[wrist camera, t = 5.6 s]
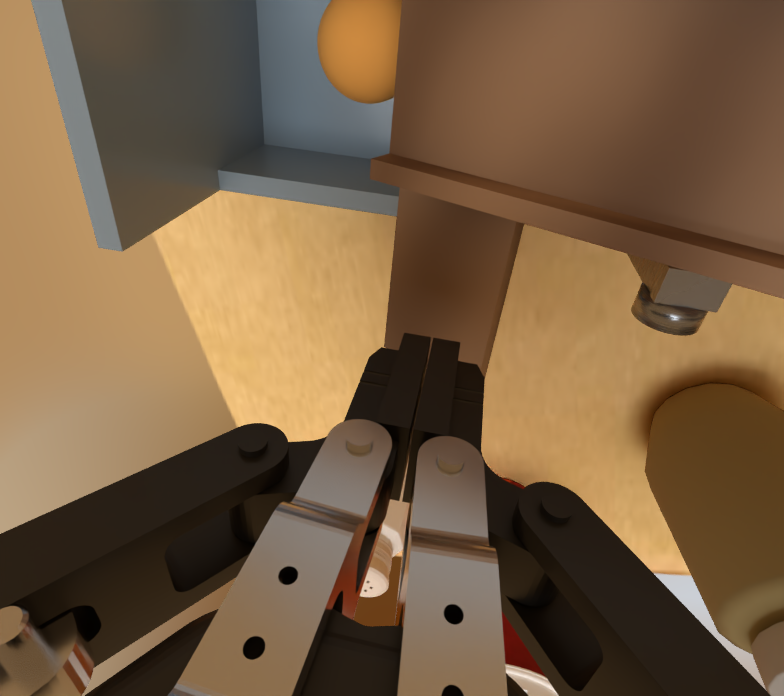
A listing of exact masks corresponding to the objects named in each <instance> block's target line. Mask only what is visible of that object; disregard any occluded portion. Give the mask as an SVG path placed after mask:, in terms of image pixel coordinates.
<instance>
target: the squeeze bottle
mask: <svg viewBox="0 0 784 696" xmlns="http://www.w3.org/2000/svg"><path fill="white" fill-rule="evenodd" d="M645 473H646V476H647V479H648V482H649V485H650V488H651V490H652V493H653V495H654V497H655V499H656V501H657V503H658V505H659V507H660V510H661V512H662V514H663V516H664V518H665V520H666V522H667V524H668V527H669V529H670V531H671V533H672V535H673V537H674V539H675V541H676V544H677V546H678V548H679V550H680V552H681V554H682V556H683V558H684V561H685V563H686V565H687V567H688V569H689V571H690V573H691V575H692V577H693V579H694V582H695V584H696V586H697V588H698V590H699V592H700V594H701V596H702V599H703V601H704V603H705V605H706V607H707V609H708V611H709V614H710V616H711V618H712V620H713V622H714V624H715V626H716V628H717V631H718V632H719V633H720V634H721V635H722V636H724V637H725V638H726V639H728V640H729V641H730V642H731V643H732V644H734V645H735V646H737V647H739V648H741V649H743V650H745V651H747V652H749V653H751V654H753V657H754V660H755V662H756V665H757V668H758V670H759V673H760V675H761V678H762V680H763V682H764V685H765V688H766V690H767V692H768V693H769V694H770V695H771V696H784V411H782V410H781V409H779V408H777V407H776V406H774V405H772V404H771V403H769V402H767V401H766V400H764V399H762V398H761V397H759V396H757V395H756V394H754V393H752V392H751V391H748V390H746V389H743V388H740V387H738V386H735V385H732V384H714V383H708V384H704V385H699V386H695V387H691V388H686V389H684V390H683V391H681V392H679V393H677V394H675V395H673V396H672V397H670V398H668V399H667V400H666V401H665V402H664V403H663V404H662V405H661V406H660V407H659V409H658V410H657V411H656V412H655V414H654V417H653V421H652V424H651V429H650V437H649V444H648V451H647V459H646V466H645Z"/></svg>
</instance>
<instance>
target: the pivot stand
mask: <svg viewBox="0 0 784 696" xmlns="http://www.w3.org/2000/svg"><path fill="white" fill-rule="evenodd" d="M628 256H629V258H630V260H631V262H632V263H633V265H634V267H635V269H636V271H637V273H638V274H639V276H640V278H641V280H642V284H641V287H640V289H639V291H638V294H637V296H636V298H635V301H634V303H633V305H632V308H631V311H632V314H633V315H634V316H635V317H636V318H637V319H638V320H639V321H640V322H642V323H643V324H645V325H647V326H649V327H651V328H653V329H655V330H658V331H661V332H664V333H668V334H673V335H692V334H694V333H696V332H697V331H698V329H699V328H700V326H701V324H702V322H703V320H704V318H705V316H706V315H707V313H708V311H711V312H717V311H718V309H719V307H720V306H721V304H722V302H723V300H724V298H725V296H726V295H727V293H728V291H729V289H730V287H731V285H732V284H731V283H728V282H724V281H721V280H717V279H714V278H710V277H707V276H703V275H700V274H697V273H693V272H690V271H686V270H683V269H679V268H676V267H672V266H669V265H665V264H662V263H659V262H655V261H652V260H648V259H645V258H641V257H638V256H634V255H631V254H628Z"/></svg>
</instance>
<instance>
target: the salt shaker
mask: <svg viewBox="0 0 784 696" xmlns="http://www.w3.org/2000/svg"><path fill="white" fill-rule="evenodd" d="M408 460H409V459H408ZM407 467H408V463H407ZM406 473H407V468H406ZM406 473H405V477H404V482H403V486H402V491H401V496H400V500H399V501H396V500H391V499H390V502H389V506H388V510H387V514H386V517H385V520H384V521H383V525H382V530H381V533H380V536H379V539H378V542H377V545H376V548H375V551H374V554H373V557H372V560H371V563H370V566H369V569H368V572H367V575H366V578H365V581H364V584H363V587H362V590H361V593H360V596H363V597H376V596H379V595H381V594H383V593H384V592H385V591H386V590H387V589H388V586H389V573H390V569H391V562H392V561H391V558H392V557H393V556H395V555H396V554H398V553H399V552H400V551H402V550H403V542H404V534H405V528H406V522H407V516H408V509H409V503H406V502H402V500H403V493H404V486H405V480H406Z"/></svg>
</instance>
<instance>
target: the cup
mask: <svg viewBox="0 0 784 696" xmlns="http://www.w3.org/2000/svg"><path fill="white" fill-rule="evenodd" d="M31 2H32V5H33V9H34V13H35V16H36V20H37V24H38V27H39V31H40V35H41V38H42V42H43V46H44V49H45V53H46V56H47V60H48V64H49V68H50V71H51V75H52V79H53V82H54V86H55V90H56V93H57V97H58V101H59V104H60V108H61V112H62V116H63V119H64V123H65V127H66V130H67V134H68V137H69V141H70V145H71V149H72V152H73V155H74V159H75V163H76V167H77V171H78V174H79V178H80V182H81V185H82V189H83V193H84V196H85V200H86V204H87V207H88V211H89V215H90V218H91V222H92V226H93V229H94V233H95V236H96V240H97V244H98V247H99V248H104V249H111V250H117V251H124V250H125V249H127V248H129V247H130V246H132V245H134V244H135V243H137V242H138V241H140V240H142V239H143V238H145V237H146V236H148V235H149V234H151V233H153V232H154V231H156V230H157V229H159V228H161V227H162V226H164V225H165V224H167V223H168V222H170V221H172V220H173V219H175V218H176V217H178V216H180V215H181V214H183V213H184V212H186V211H187V210H189V209H191V208H192V207H194V206H195V205H197V204H198V203H200V202H202V201H203V200H205V199H206V198H208V197H210V196H211V195H213V194H214V193H216V192H217V191H219V190H224V191H231V192H237V193H244V194H251V195H257V196H264V197H271V198H277V199H284V200H291V201H297V202H304V203H311V204H317V205H324V206H331V207H337V208H344V209H351V210H357V211H364V212H371V213H377V214H384V215H391V216H397V210H398V200H399V190H400V188H399V187H396V186H392V185H389V184H386V183H382V182H379V181H375V180H372V179H370V166H371V158H375V157H378V156H382V155H385V154H389V151H390V139H391V127H392V115H393V102H394V97H393V98H391V99H389V100H387V101H384V102H381V103H375V104H366V103H360V102H356V101H353V100H351V99H349V98H347V97H346V96H344V95H343V94H341V93H340V92H339V91H338V90H337V89H336V88H335V87H334V86H333V85H332V84H331V82H330V81H329V80H328V78H327V76H326V74H325V73H324V70H323V68H322V66H321V62H320V59H319V54H318V47H317V36H318V29H319V24H320V21H321V18H322V15H323V13H324V11H325V9H326V7H327V6H328V4H329V3H330V2H331V0H31Z"/></svg>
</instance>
